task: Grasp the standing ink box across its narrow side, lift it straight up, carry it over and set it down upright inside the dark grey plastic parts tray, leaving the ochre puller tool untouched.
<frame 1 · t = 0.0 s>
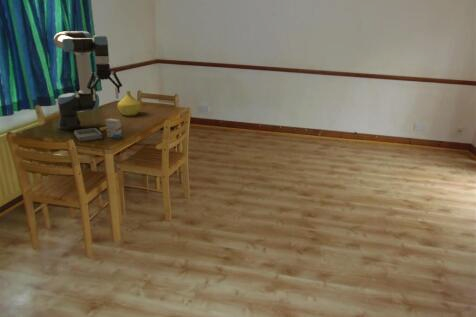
hand: (106, 99, 223), 28 cm above the table, fingers open, 13 cm apart
yellow rounded bulb: (130, 114, 302), on the table
parts tray: (88, 136, 244), on the table
puller tool: (106, 129, 260), on the table
ink box: (114, 137, 245), on the table
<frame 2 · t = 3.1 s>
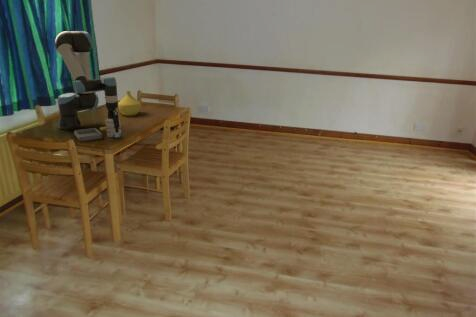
hand: (114, 134, 245), 1 cm above the table, fingers closed on ink box, 9 cm apart
ink box: (114, 137, 246), on the table, touching gripper
everything else where it was.
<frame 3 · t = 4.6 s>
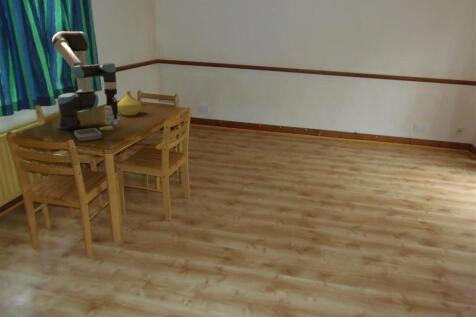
hand: (113, 121, 243), 10 cm above the table, fingers closed on ink box, 9 cm apart
ink box: (112, 124, 243), point 8 cm above the table, touching gripper
everything else where it was.
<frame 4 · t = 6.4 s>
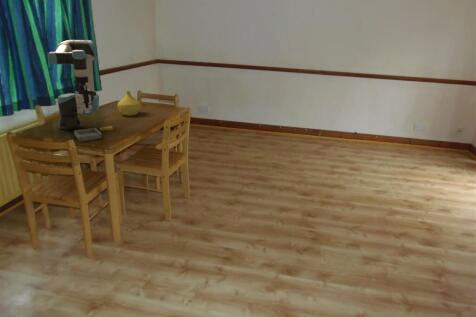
hand: (85, 111, 238), 17 cm above the table, fingers closed on ink box, 9 cm apart
ink box: (85, 113, 238), point 16 cm above the table, touching gripper
everything else where it was.
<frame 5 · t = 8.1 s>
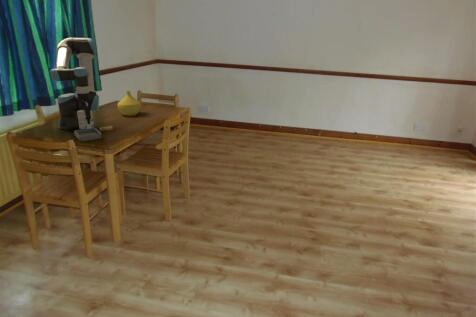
hand: (87, 126, 241), 7 cm above the table, fingers closed on ink box, 9 cm apart
ink box: (86, 128, 242), point 5 cm above the table, touching gripper
everything else where it was.
when the fingers open (4 cm above the table, at t = 9.4 s): ink box drops 2 cm, resting on parts tray.
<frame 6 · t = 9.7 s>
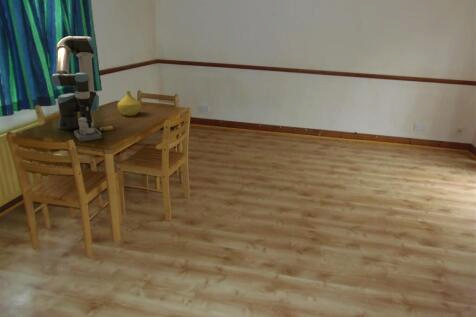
hand: (87, 129, 242), 5 cm above the table, fingers open, 13 cm apart
ink box: (87, 135, 244), resting on parts tray
everything else where it was.
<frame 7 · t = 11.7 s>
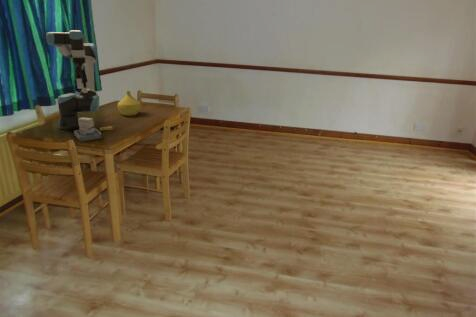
hand: (82, 90, 238), 30 cm above the table, fingers open, 13 cm apart
nothing on the table moved.
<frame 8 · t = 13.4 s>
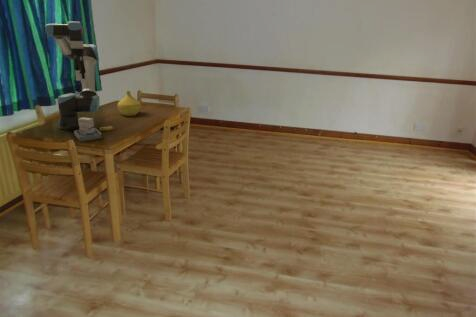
hand: (81, 82, 237), 35 cm above the table, fingers open, 13 cm apart
nothing on the table moved.
at the end: ink box inside the target area on the parts tray (0.4 cm from its centre), point 0.4 cm above the parts tray's base; ink box tilted 0°; the gripper is holding nothing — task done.
